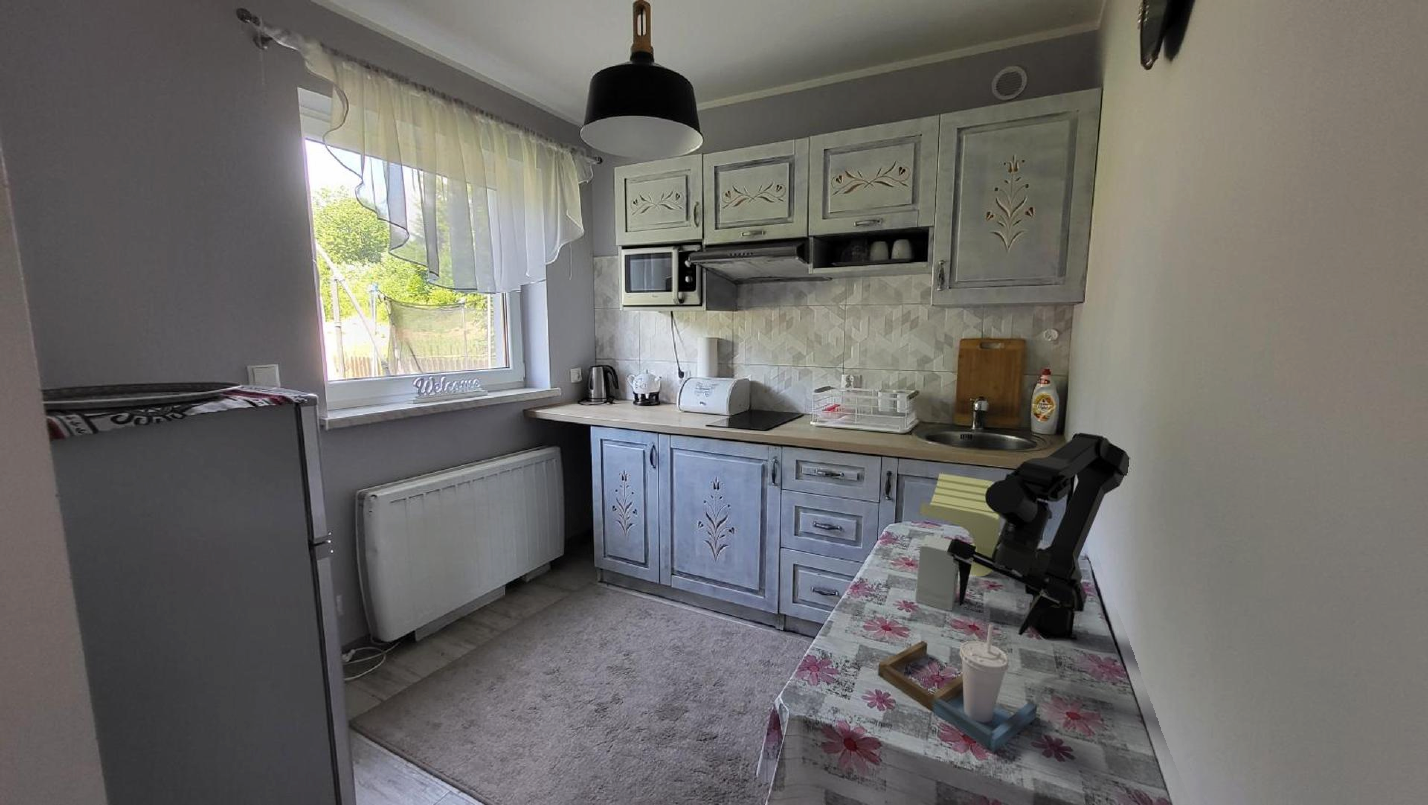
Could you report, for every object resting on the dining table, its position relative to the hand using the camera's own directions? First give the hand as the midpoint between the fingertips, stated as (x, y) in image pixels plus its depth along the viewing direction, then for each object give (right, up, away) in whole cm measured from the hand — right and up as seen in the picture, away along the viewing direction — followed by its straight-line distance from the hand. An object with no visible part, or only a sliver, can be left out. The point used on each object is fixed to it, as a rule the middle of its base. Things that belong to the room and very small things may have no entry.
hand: (989, 620), depth 86 cm
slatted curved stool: (+16, -4, +44) cm, 47 cm away
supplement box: (+2, -6, +25) cm, 26 cm away
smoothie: (-6, -10, -9) cm, 15 cm away
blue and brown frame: (-9, -10, -5) cm, 14 cm away
